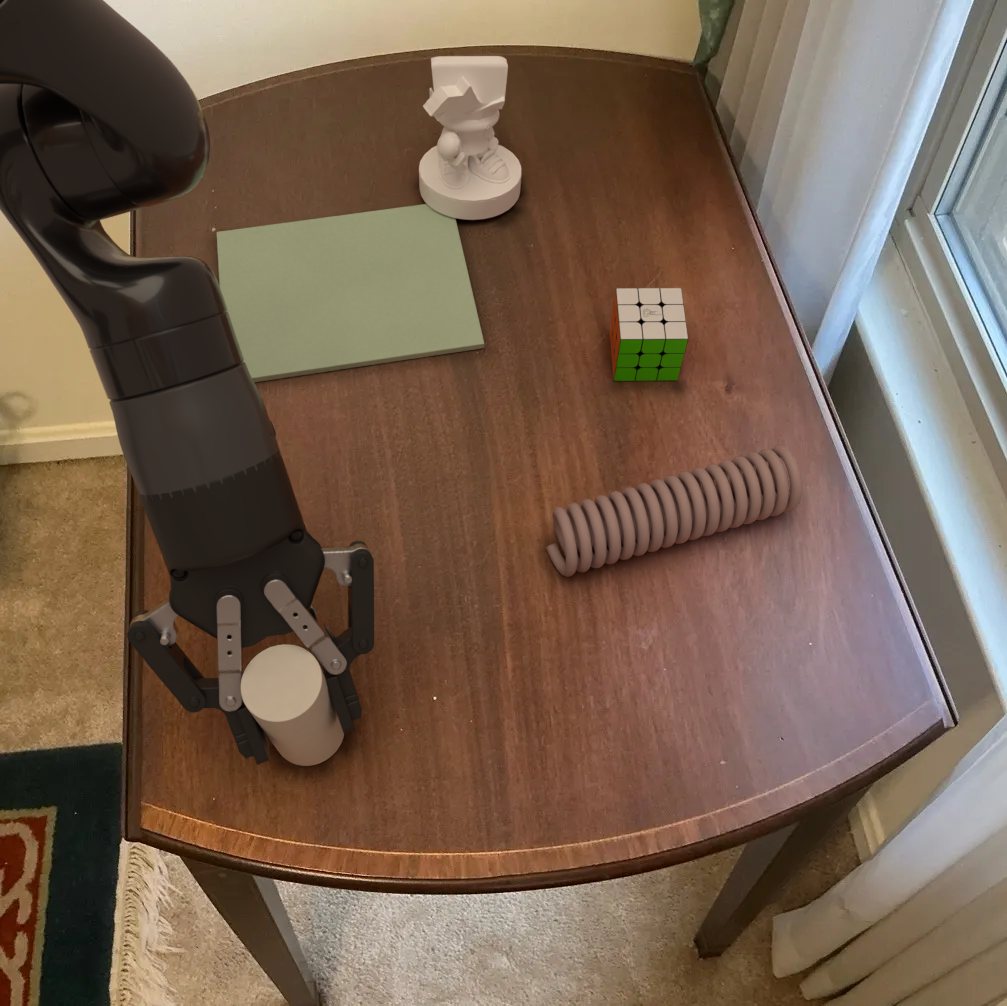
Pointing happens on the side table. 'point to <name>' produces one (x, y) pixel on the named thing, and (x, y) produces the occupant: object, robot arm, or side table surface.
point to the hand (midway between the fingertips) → (306, 739)
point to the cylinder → (292, 704)
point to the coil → (675, 510)
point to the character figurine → (468, 140)
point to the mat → (347, 291)
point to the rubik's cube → (648, 334)
